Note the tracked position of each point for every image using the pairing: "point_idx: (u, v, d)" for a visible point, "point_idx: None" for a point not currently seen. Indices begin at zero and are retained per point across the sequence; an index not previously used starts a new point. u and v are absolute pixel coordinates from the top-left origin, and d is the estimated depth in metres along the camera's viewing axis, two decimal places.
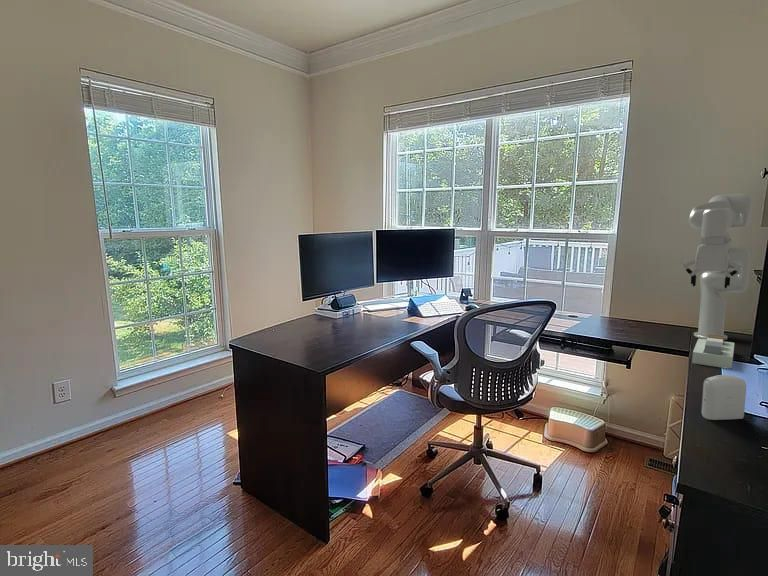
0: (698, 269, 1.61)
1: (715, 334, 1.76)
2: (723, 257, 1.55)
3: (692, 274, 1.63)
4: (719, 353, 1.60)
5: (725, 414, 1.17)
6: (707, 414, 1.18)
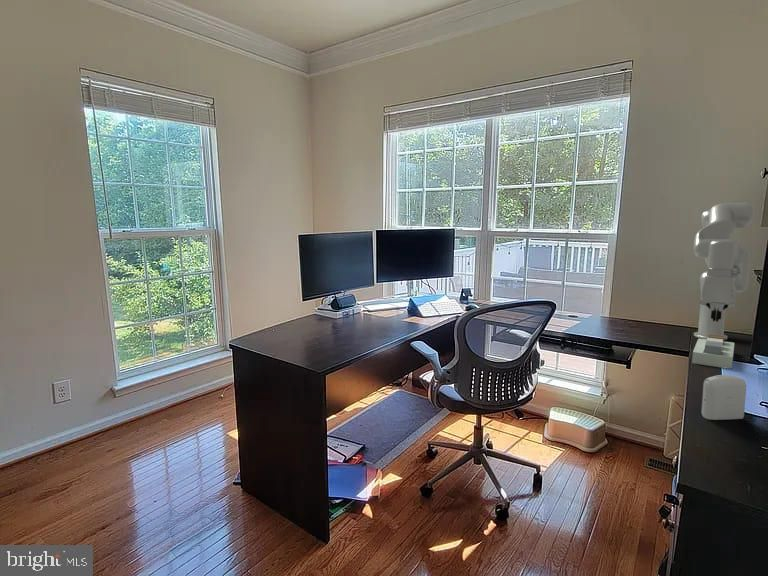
0: (704, 300, 1.61)
1: (715, 334, 1.76)
2: (730, 289, 1.55)
3: (712, 309, 1.60)
4: (719, 353, 1.60)
5: (725, 414, 1.17)
6: (707, 414, 1.18)
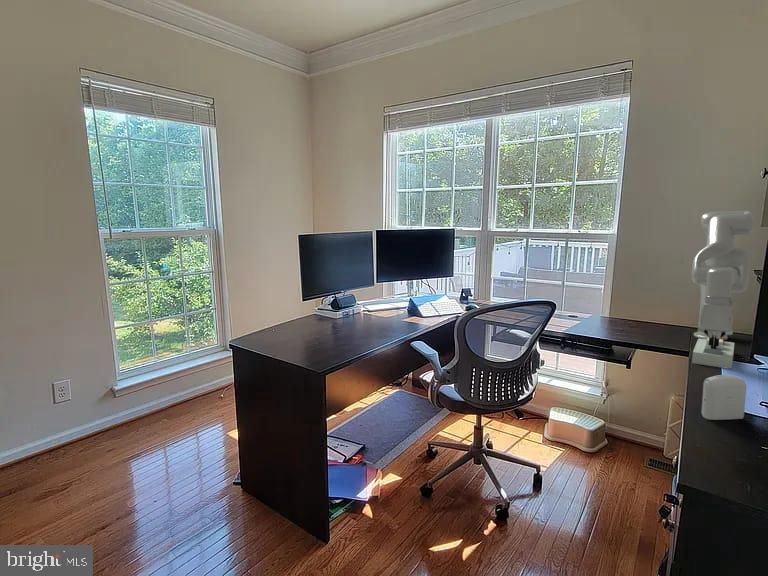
0: (702, 327, 1.62)
1: (715, 334, 1.76)
2: (728, 317, 1.57)
3: (710, 336, 1.62)
4: None
5: (725, 414, 1.17)
6: (707, 414, 1.18)
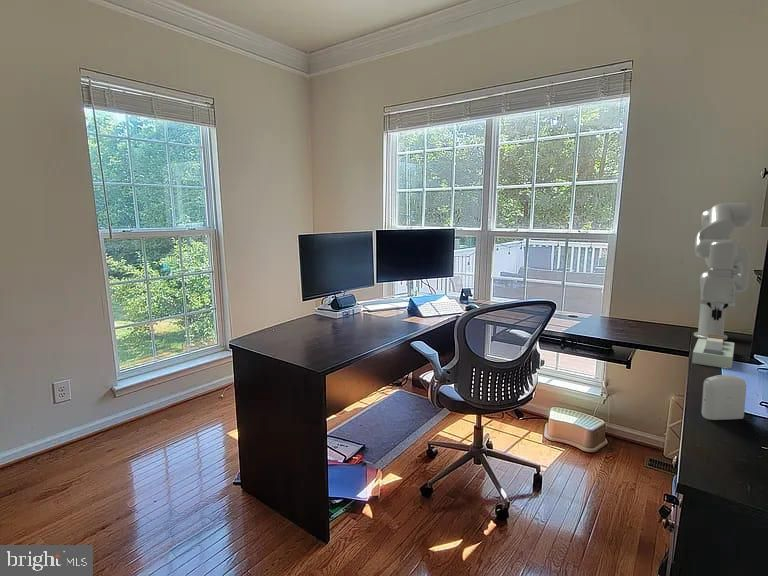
0: (705, 299, 1.65)
1: (715, 334, 1.76)
2: (730, 289, 1.59)
3: (713, 308, 1.64)
4: None
5: (725, 414, 1.17)
6: (707, 414, 1.18)
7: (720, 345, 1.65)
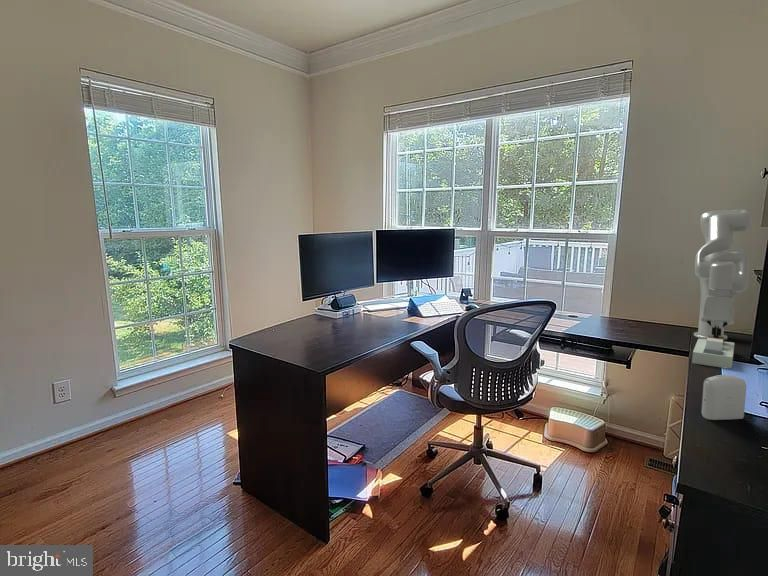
0: (706, 318, 1.74)
1: None
2: (729, 308, 1.69)
3: (713, 326, 1.73)
4: None
5: (725, 414, 1.17)
6: (707, 414, 1.18)
7: (720, 345, 1.65)
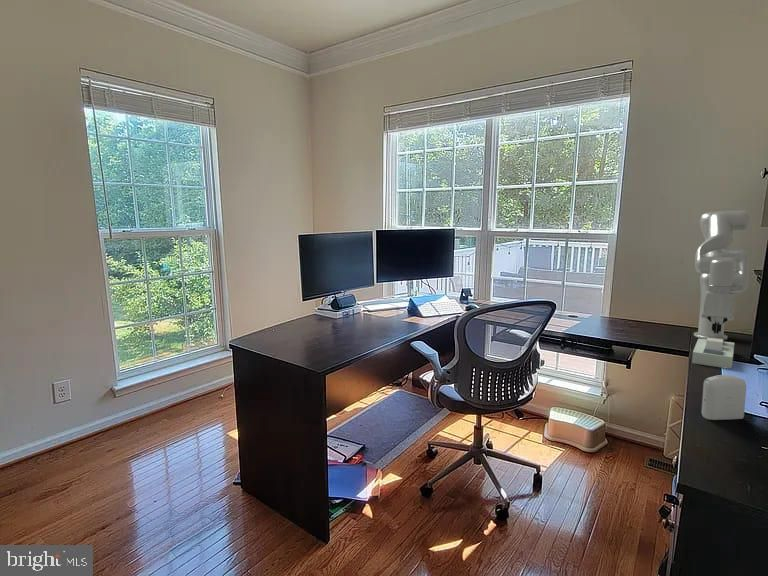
0: (706, 314, 1.74)
1: (715, 338, 1.77)
2: (729, 304, 1.69)
3: (713, 322, 1.74)
4: None
5: (725, 414, 1.17)
6: (707, 414, 1.18)
7: (720, 345, 1.65)
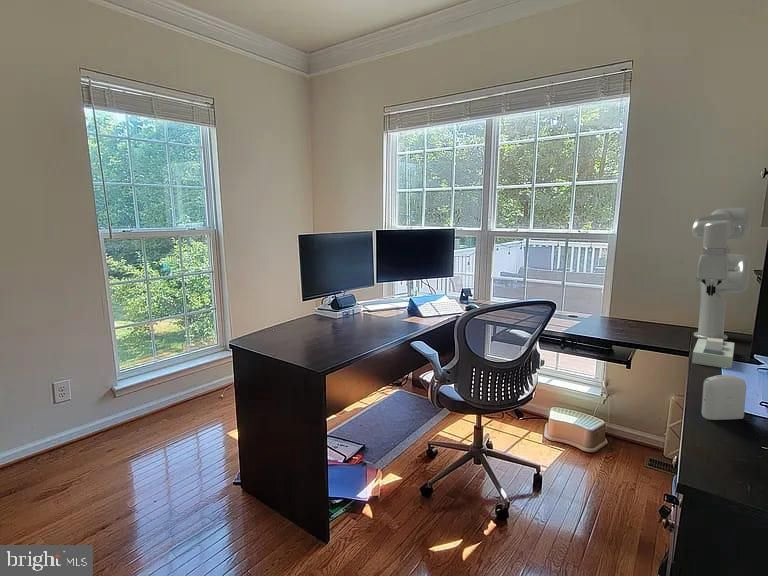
0: (700, 277, 1.78)
1: (715, 338, 1.77)
2: (723, 266, 1.72)
3: (707, 284, 1.77)
4: None
5: (725, 414, 1.17)
6: (707, 414, 1.18)
7: (720, 345, 1.65)
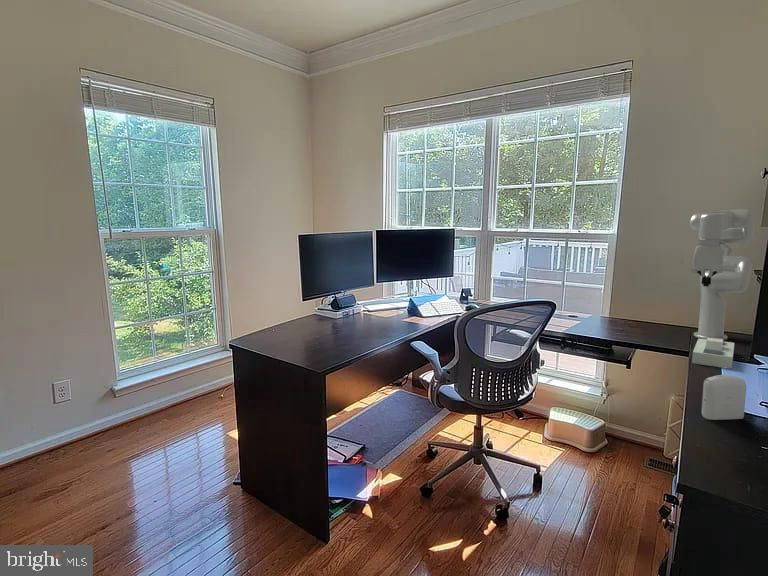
0: (696, 268, 1.80)
1: (715, 338, 1.77)
2: (718, 257, 1.74)
3: (703, 275, 1.79)
4: None
5: (725, 414, 1.17)
6: (707, 414, 1.18)
7: (720, 345, 1.65)
